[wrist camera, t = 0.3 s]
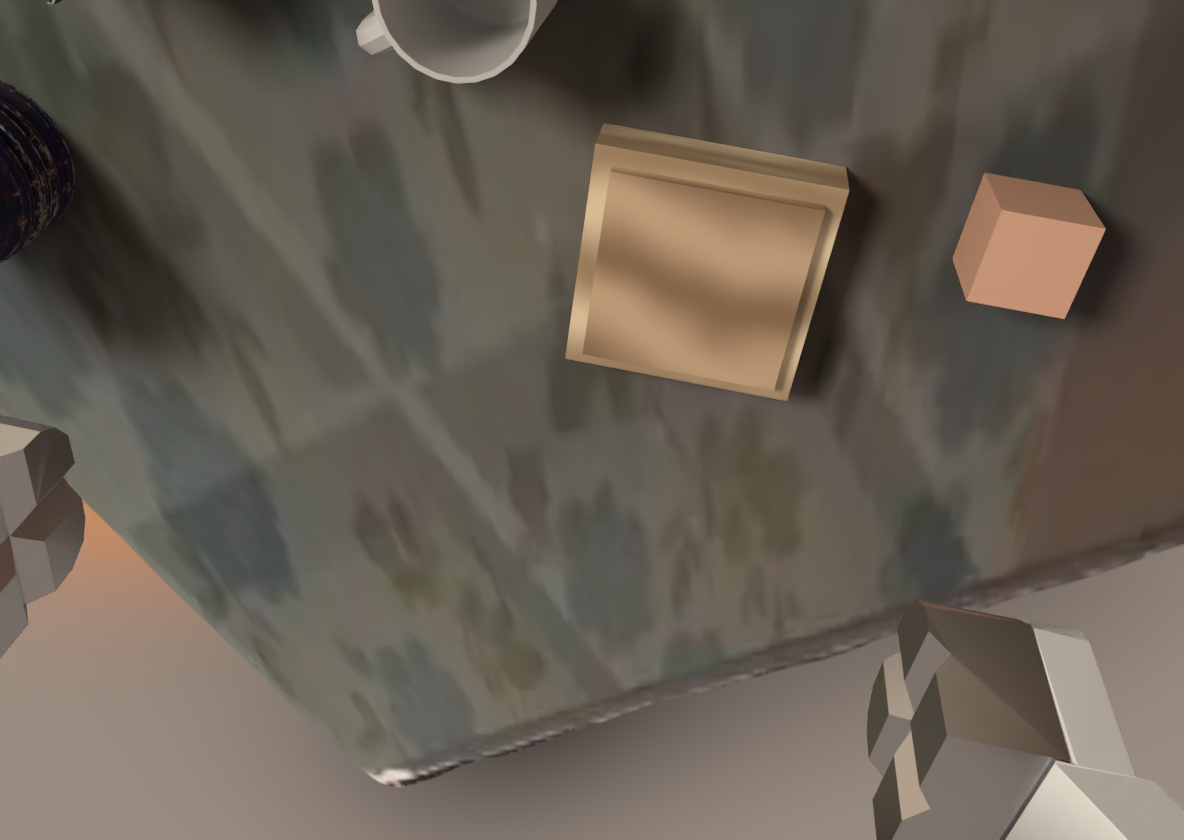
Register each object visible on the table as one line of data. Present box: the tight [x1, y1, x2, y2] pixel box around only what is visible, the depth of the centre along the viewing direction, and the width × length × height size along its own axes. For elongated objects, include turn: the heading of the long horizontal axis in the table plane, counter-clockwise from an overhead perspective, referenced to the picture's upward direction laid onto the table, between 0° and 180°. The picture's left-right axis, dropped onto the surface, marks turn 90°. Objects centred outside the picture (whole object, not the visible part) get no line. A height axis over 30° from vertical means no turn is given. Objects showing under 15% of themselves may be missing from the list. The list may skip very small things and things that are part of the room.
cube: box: [953, 173, 1106, 319], centre depth 53 cm, size 5×5×5 cm
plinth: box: [565, 123, 849, 401], centre depth 57 cm, size 13×13×4 cm
